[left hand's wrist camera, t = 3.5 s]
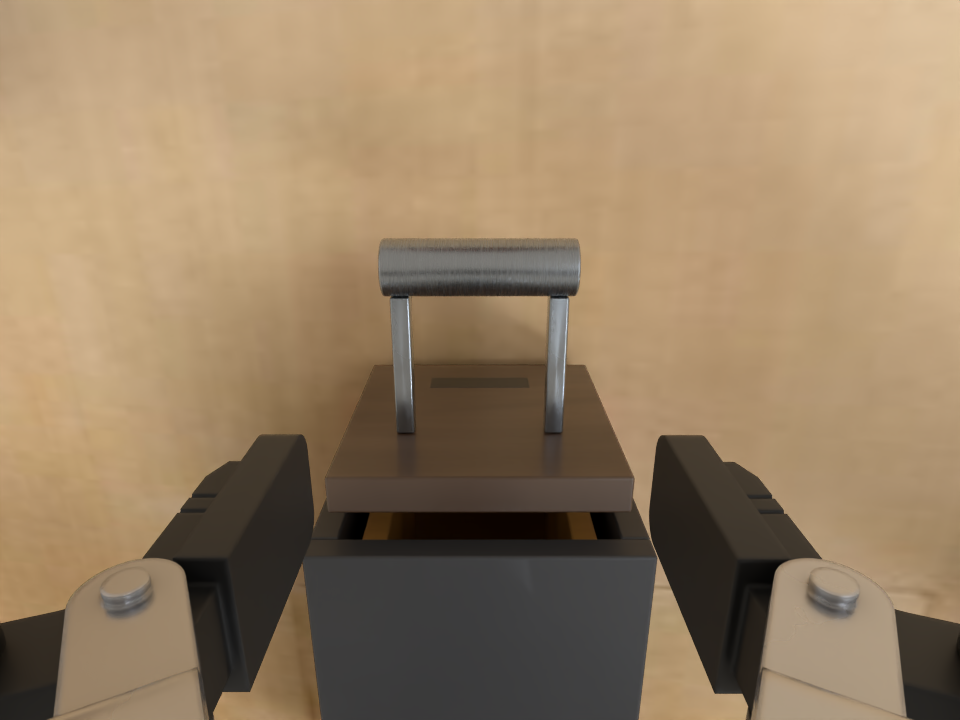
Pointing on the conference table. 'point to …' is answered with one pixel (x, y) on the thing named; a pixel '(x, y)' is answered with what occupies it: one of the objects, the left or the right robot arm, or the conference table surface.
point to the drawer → (479, 413)
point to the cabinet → (480, 623)
